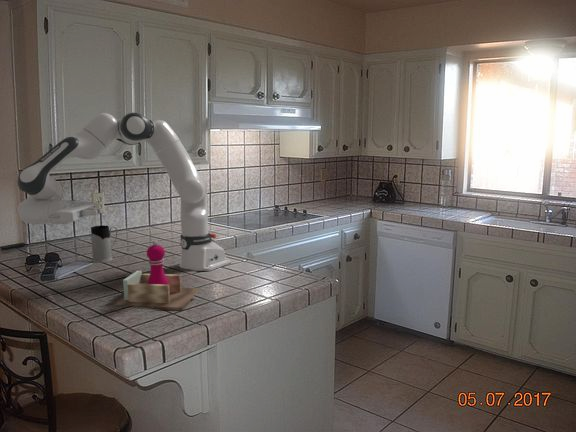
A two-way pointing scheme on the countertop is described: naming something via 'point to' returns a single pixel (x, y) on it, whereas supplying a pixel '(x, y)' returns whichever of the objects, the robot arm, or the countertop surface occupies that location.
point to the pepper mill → (156, 264)
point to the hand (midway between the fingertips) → (98, 211)
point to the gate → (132, 278)
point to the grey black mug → (102, 243)
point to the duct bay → (159, 294)
